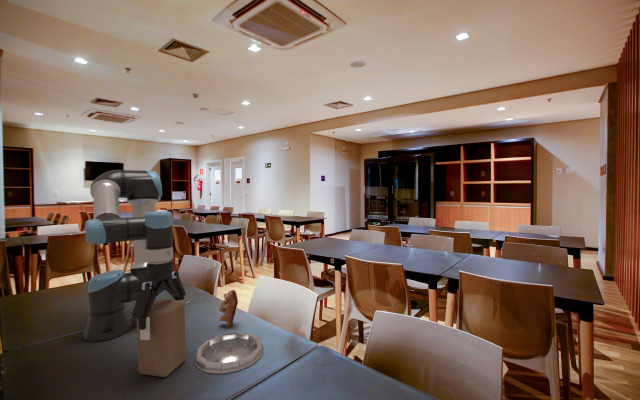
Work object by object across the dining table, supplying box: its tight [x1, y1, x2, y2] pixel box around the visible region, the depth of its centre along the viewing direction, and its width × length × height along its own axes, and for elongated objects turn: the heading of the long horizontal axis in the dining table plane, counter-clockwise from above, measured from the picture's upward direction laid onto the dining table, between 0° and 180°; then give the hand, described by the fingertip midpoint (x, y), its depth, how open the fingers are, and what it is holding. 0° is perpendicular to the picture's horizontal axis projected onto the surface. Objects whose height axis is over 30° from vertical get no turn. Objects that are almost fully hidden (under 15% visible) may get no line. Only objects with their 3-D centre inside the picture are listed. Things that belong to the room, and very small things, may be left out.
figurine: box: [218, 289, 239, 327], centre depth 123 cm, size 6×8×15 cm
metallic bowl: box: [194, 332, 264, 375], centre depth 102 cm, size 22×22×2 cm
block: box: [136, 298, 187, 378], centre depth 95 cm, size 10×10×20 cm
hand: (162, 329), depth 94 cm, fingers open, 13 cm apart
